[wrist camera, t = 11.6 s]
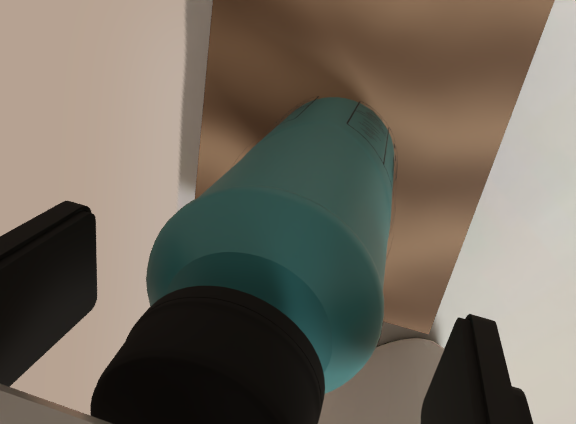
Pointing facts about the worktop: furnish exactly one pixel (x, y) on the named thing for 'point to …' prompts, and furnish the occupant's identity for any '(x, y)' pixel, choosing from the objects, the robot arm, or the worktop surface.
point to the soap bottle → (386, 386)
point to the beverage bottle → (265, 281)
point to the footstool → (381, 106)
